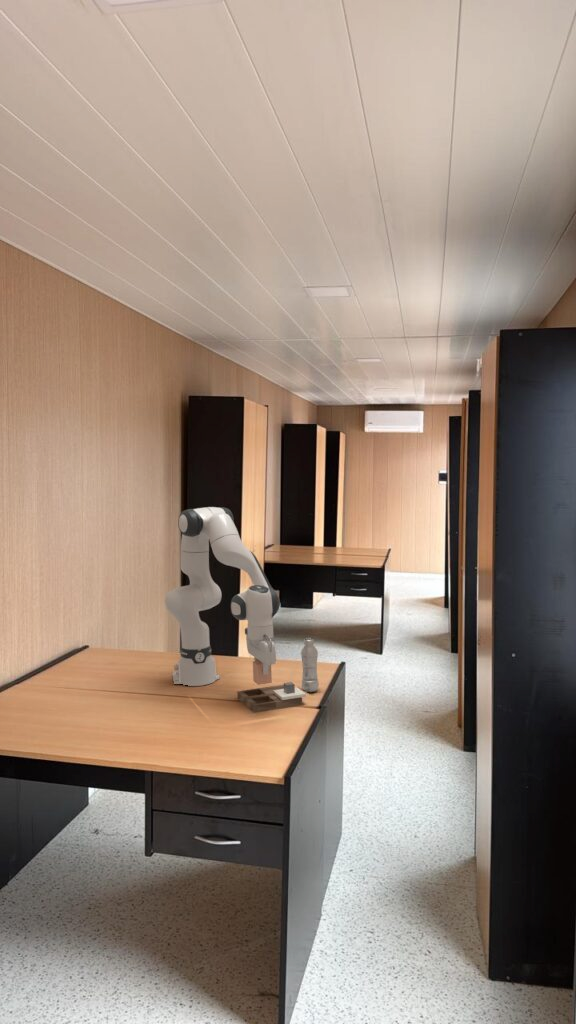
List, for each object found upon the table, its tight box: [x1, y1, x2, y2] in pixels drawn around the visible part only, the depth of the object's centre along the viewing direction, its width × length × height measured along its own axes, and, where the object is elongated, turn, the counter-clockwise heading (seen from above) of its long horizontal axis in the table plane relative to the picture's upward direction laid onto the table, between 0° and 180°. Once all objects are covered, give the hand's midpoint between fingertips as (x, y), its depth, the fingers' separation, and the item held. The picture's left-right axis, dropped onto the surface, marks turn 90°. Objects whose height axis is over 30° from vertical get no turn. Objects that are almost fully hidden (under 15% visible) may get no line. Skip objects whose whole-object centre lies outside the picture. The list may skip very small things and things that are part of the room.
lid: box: [273, 681, 307, 700], centre depth 265 cm, size 9×9×4 cm
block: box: [252, 660, 273, 685], centre depth 261 cm, size 5×5×7 cm
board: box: [236, 684, 303, 713], centre depth 267 cm, size 18×18×4 cm
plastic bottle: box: [300, 637, 320, 693], centre depth 280 cm, size 6×7×20 cm
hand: (262, 671), depth 261 cm, fingers closed on block, 5 cm apart
